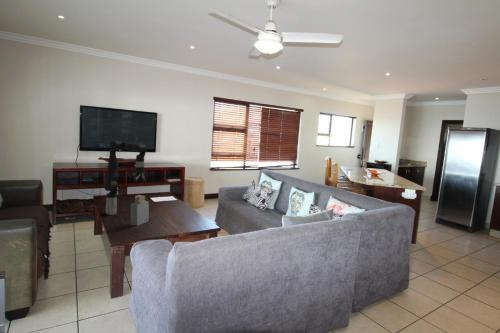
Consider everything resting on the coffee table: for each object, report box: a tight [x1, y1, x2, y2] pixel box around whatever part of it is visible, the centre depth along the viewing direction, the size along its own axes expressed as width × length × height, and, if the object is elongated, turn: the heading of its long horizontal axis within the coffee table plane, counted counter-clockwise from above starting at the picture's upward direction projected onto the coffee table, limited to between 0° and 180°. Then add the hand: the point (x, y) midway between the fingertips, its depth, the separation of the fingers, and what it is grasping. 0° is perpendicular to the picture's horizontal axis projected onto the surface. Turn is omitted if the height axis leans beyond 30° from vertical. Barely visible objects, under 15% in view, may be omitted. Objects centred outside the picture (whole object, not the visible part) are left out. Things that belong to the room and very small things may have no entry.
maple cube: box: [134, 194, 146, 204], centre depth 265 cm, size 6×6×6 cm
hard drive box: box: [130, 200, 150, 227], centre depth 267 cm, size 16×8×20 cm, turn 158°
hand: (139, 183), depth 265 cm, fingers open, 8 cm apart
